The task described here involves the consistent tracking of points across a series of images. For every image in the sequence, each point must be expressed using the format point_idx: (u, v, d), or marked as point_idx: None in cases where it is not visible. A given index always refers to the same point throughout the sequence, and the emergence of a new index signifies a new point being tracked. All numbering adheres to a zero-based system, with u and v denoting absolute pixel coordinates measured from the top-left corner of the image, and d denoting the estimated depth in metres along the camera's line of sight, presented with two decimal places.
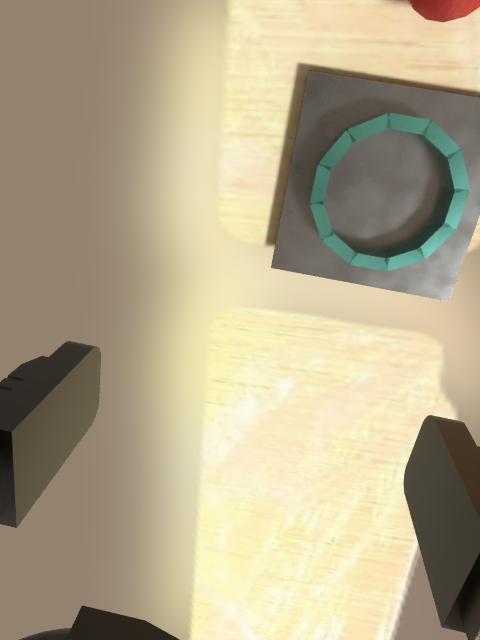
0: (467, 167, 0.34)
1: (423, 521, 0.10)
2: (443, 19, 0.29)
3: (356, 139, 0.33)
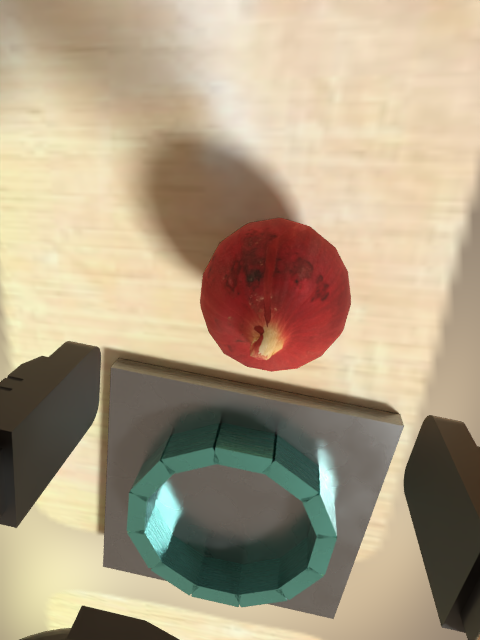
0: (340, 487, 0.25)
1: (423, 521, 0.10)
2: None
3: (175, 471, 0.23)
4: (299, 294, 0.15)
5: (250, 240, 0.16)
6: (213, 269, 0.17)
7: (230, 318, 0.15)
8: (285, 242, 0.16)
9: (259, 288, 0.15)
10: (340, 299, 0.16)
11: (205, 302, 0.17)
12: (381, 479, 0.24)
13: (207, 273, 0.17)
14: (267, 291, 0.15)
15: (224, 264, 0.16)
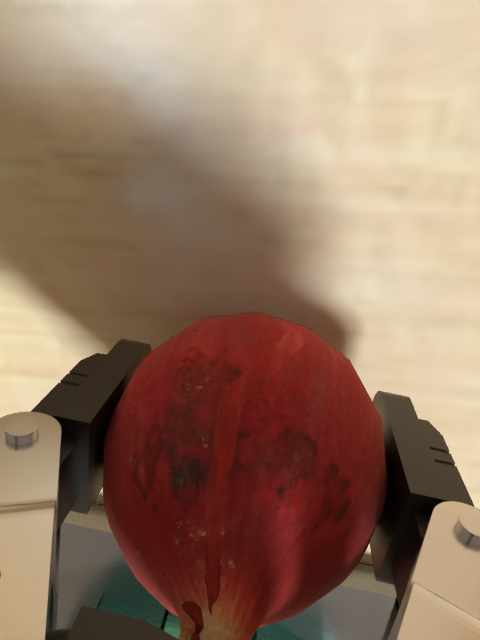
0: None
1: None
2: None
3: None
4: (286, 520, 0.07)
5: (188, 378, 0.08)
6: (118, 425, 0.08)
7: (139, 555, 0.07)
8: (259, 389, 0.07)
9: (197, 507, 0.07)
10: (372, 499, 0.08)
11: (104, 489, 0.08)
12: None
13: (111, 427, 0.09)
14: (214, 517, 0.07)
15: (135, 425, 0.08)
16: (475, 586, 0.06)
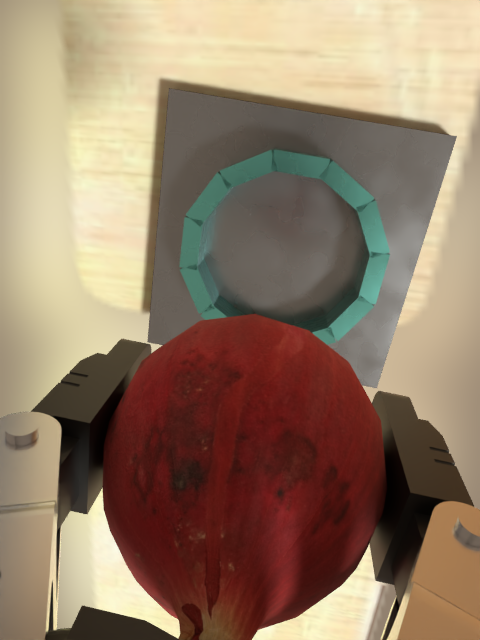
0: (390, 220, 0.25)
1: None
2: None
3: (232, 184, 0.24)
4: (286, 523, 0.07)
5: (187, 381, 0.08)
6: (119, 427, 0.08)
7: (138, 558, 0.07)
8: (258, 391, 0.07)
9: (197, 509, 0.07)
10: (372, 502, 0.08)
11: (104, 491, 0.08)
12: (432, 205, 0.25)
13: (111, 429, 0.09)
14: (214, 519, 0.07)
15: (135, 427, 0.08)
16: (475, 586, 0.06)
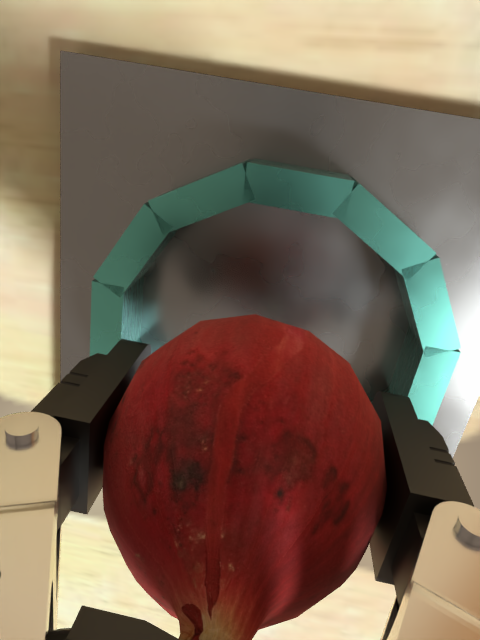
0: (455, 283, 0.14)
1: None
2: None
3: (172, 226, 0.13)
4: (286, 524, 0.07)
5: (187, 381, 0.08)
6: (119, 428, 0.08)
7: (139, 558, 0.07)
8: (258, 391, 0.07)
9: (197, 509, 0.07)
10: (372, 502, 0.08)
11: (104, 492, 0.08)
12: None
13: (111, 429, 0.09)
14: (214, 520, 0.07)
15: (135, 428, 0.08)
16: (475, 586, 0.06)
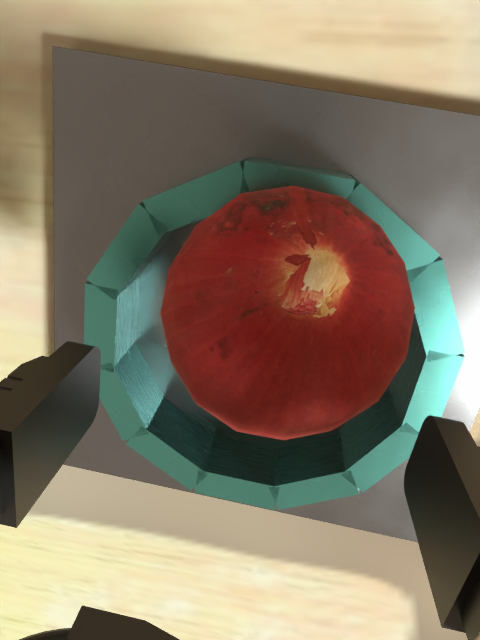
0: (459, 285, 0.14)
1: (423, 521, 0.10)
2: (273, 437, 0.10)
3: (167, 227, 0.12)
4: (354, 227, 0.08)
5: (254, 191, 0.10)
6: (191, 236, 0.10)
7: (230, 272, 0.08)
8: (310, 190, 0.10)
9: (285, 214, 0.08)
10: (406, 276, 0.10)
11: (176, 282, 0.09)
12: None
13: (179, 252, 0.10)
14: (301, 215, 0.08)
15: (212, 220, 0.10)
16: None
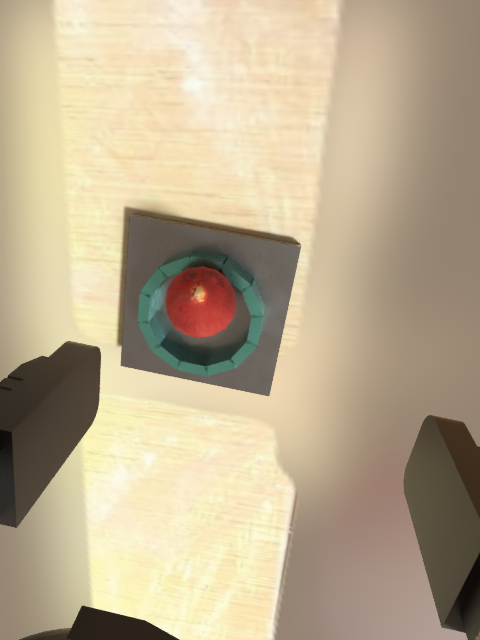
0: (267, 293, 0.41)
1: (423, 521, 0.10)
2: (196, 336, 0.37)
3: (167, 275, 0.39)
4: (211, 280, 0.35)
5: (191, 268, 0.37)
6: (173, 280, 0.37)
7: (181, 291, 0.35)
8: (206, 268, 0.37)
9: (194, 277, 0.35)
10: (230, 292, 0.36)
11: (169, 293, 0.36)
12: (291, 285, 0.40)
13: (170, 285, 0.37)
14: (198, 277, 0.35)
15: (178, 276, 0.36)
16: None
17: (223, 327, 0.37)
